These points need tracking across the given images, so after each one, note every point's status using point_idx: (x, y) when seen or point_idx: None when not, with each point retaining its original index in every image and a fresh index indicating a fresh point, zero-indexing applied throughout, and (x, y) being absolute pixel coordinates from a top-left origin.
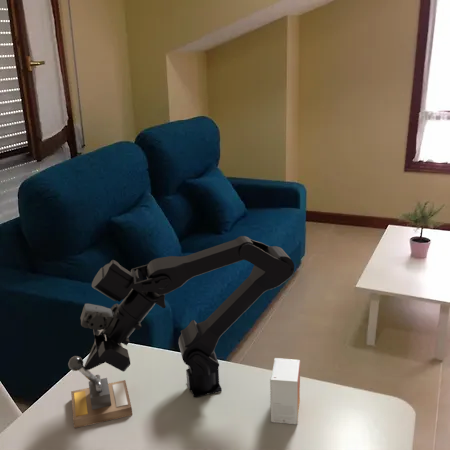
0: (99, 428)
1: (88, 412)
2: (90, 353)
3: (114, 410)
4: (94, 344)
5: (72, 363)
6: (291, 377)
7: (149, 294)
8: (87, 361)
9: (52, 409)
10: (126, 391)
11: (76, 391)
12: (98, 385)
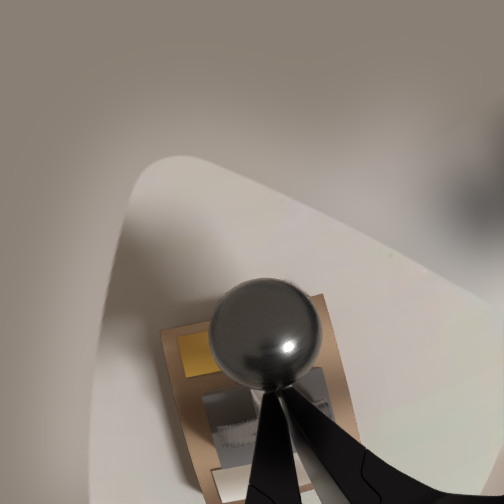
0: (157, 410)
1: (194, 379)
2: (333, 448)
3: (196, 464)
4: (389, 498)
5: (219, 317)
6: None
7: None
8: (290, 416)
9: (268, 247)
10: (299, 489)
11: (321, 313)
12: (243, 435)
